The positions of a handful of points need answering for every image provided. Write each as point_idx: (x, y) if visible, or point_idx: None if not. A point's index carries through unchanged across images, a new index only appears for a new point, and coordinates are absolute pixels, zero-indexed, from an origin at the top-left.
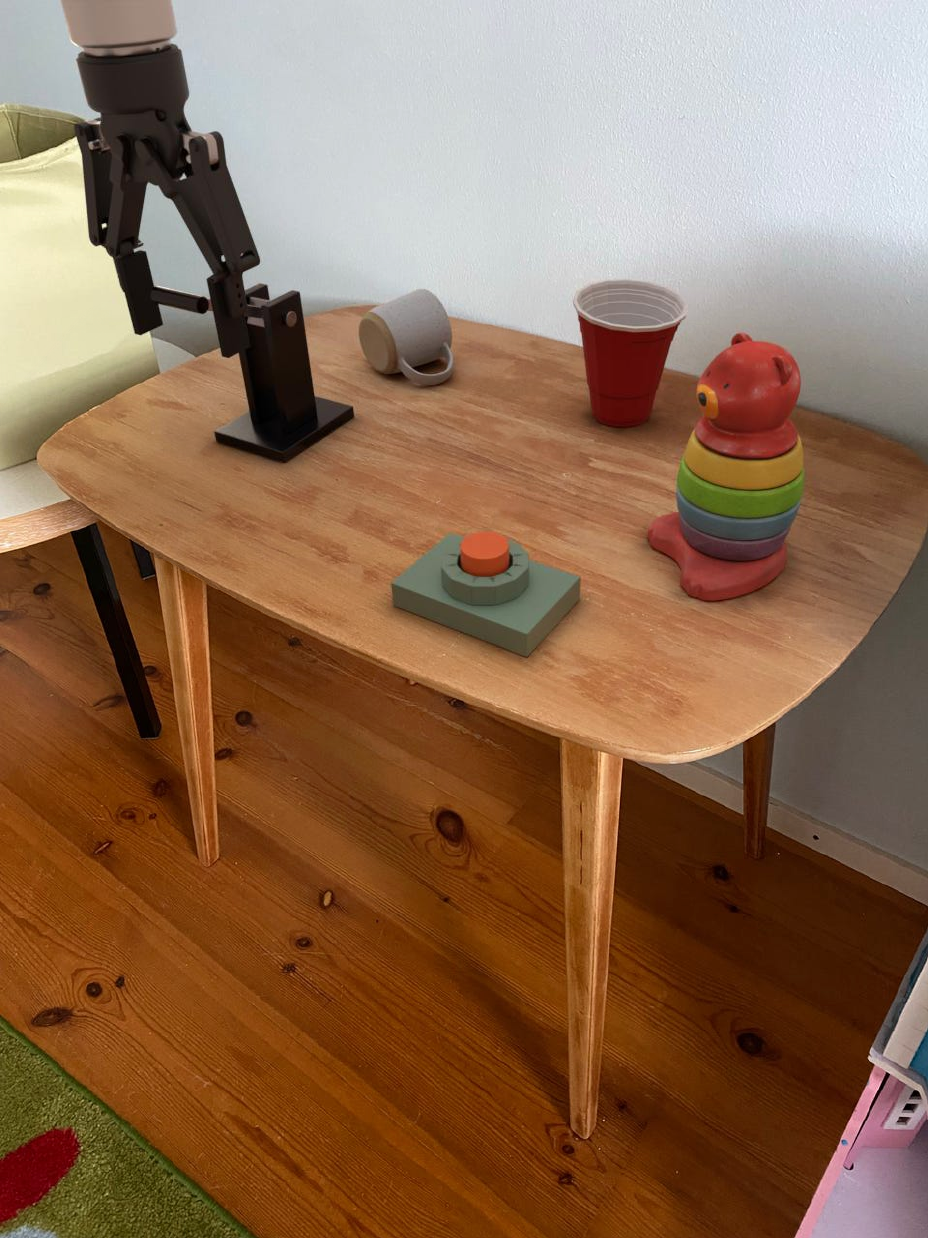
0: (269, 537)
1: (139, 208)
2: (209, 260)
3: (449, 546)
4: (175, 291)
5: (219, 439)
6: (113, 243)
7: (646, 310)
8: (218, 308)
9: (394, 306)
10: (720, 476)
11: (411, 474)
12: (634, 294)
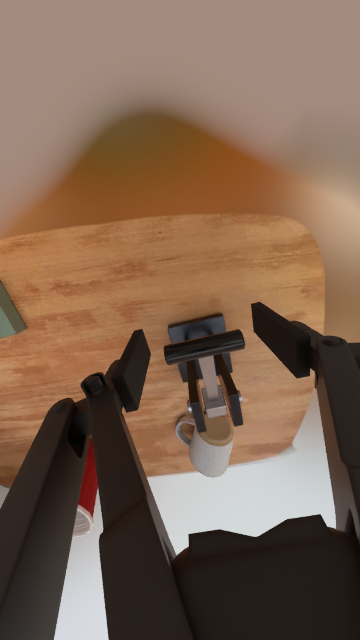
0: (102, 272)
1: (325, 436)
2: (104, 399)
3: (3, 325)
4: (206, 350)
5: (218, 314)
6: (328, 350)
7: (79, 515)
8: (121, 356)
9: (213, 456)
10: None
11: (109, 361)
12: (82, 524)
